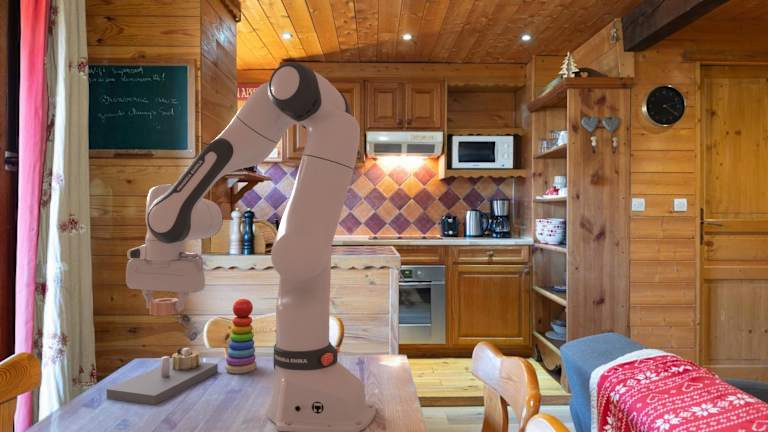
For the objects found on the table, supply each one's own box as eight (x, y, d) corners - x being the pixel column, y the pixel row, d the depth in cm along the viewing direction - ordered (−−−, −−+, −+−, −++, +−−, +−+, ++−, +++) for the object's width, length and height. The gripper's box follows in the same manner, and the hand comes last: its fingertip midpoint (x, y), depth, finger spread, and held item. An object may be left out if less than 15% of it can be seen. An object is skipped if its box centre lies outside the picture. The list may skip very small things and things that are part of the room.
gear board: (217, 371, 121) (217, 346, 121) (154, 404, 99) (154, 374, 99) (175, 366, 124) (176, 342, 124) (106, 398, 103) (106, 369, 103)
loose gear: (186, 310, 114) (186, 298, 114) (166, 316, 107) (166, 303, 107) (163, 309, 115) (163, 297, 115) (143, 314, 109) (143, 301, 109)
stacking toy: (247, 375, 117) (247, 302, 117) (219, 373, 119) (219, 301, 119) (261, 365, 125) (262, 297, 125) (234, 363, 127) (235, 295, 127)
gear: (205, 362, 121) (205, 346, 121) (188, 370, 114) (188, 354, 114) (184, 360, 123) (184, 344, 123) (166, 368, 116) (166, 351, 116)
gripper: (211, 252, 111) (210, 309, 112) (141, 249, 117) (141, 303, 117) (193, 254, 105) (192, 314, 105) (121, 251, 111) (120, 308, 111)
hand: (165, 308), depth 111 cm, fingers closed on loose gear, 7 cm apart
